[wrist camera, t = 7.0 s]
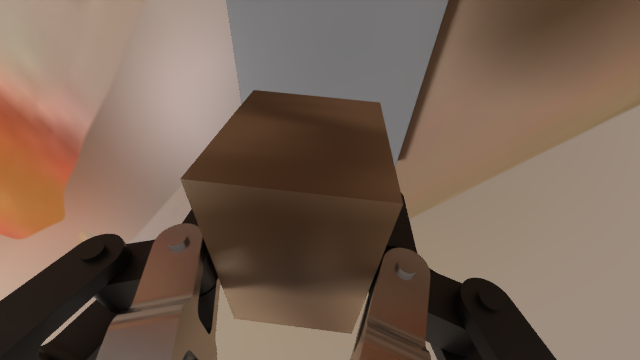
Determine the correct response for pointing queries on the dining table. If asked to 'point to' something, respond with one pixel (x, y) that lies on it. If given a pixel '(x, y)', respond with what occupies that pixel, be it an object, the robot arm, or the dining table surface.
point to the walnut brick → (297, 207)
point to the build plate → (338, 51)
